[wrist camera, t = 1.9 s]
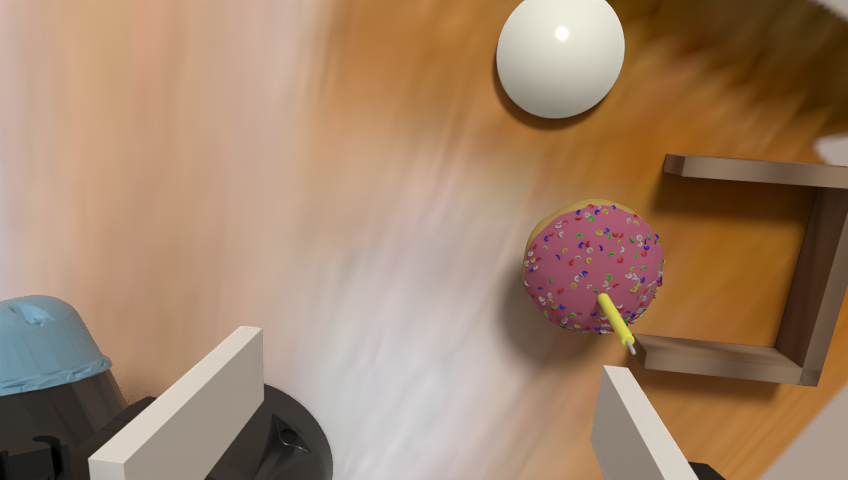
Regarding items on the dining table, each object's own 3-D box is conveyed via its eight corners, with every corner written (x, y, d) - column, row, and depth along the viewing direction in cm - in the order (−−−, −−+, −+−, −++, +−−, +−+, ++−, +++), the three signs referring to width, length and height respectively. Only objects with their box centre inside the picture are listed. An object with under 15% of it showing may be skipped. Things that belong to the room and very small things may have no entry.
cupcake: (645, 292, 35) (733, 378, 23) (528, 315, 36) (555, 407, 24) (626, 177, 33) (711, 207, 21) (504, 206, 34) (520, 248, 22)
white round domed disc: (490, 114, 33) (491, 114, 32) (502, -14, 31) (503, -18, 30) (610, 122, 32) (613, 122, 31) (630, -9, 30) (634, -12, 29)
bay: (630, 348, 36) (644, 368, 33) (666, 153, 32) (685, 156, 29) (788, 364, 35) (816, 386, 32) (843, 166, 31) (881, 170, 28)
